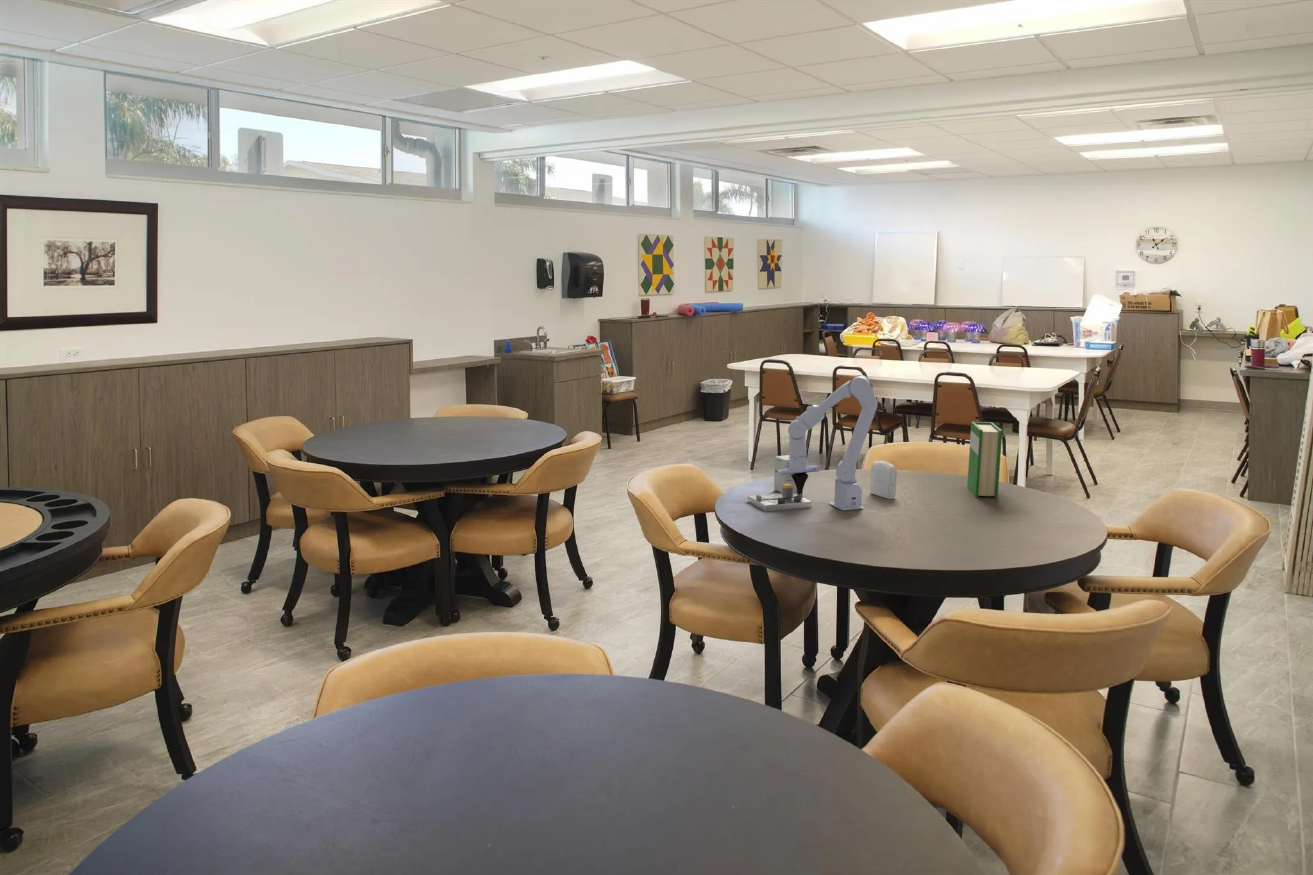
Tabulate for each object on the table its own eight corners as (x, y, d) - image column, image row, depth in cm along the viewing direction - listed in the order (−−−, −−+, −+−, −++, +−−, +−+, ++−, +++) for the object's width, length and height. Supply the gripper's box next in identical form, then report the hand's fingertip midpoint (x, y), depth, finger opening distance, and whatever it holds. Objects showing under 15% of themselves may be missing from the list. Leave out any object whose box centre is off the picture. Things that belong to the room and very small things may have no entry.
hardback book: (997, 498, 325) (1002, 430, 321) (975, 497, 326) (979, 430, 322) (988, 487, 342) (992, 422, 338) (967, 486, 343) (971, 421, 339)
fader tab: (793, 498, 315) (793, 485, 315) (786, 498, 314) (786, 485, 314) (788, 495, 318) (789, 483, 318) (781, 496, 317) (782, 483, 317)
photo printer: (897, 498, 325) (899, 463, 323) (887, 499, 323) (889, 464, 321) (877, 492, 334) (879, 458, 332) (868, 493, 332) (869, 459, 330)
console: (811, 507, 312) (811, 496, 311) (765, 511, 307) (765, 500, 306) (792, 497, 325) (792, 487, 324) (747, 501, 320) (748, 491, 319)
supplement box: (773, 490, 336) (774, 456, 334) (790, 488, 339) (791, 454, 337) (784, 494, 329) (785, 459, 327) (802, 492, 332) (803, 458, 330)
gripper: (811, 451, 321) (812, 489, 323) (773, 455, 317) (774, 494, 319) (821, 454, 314) (822, 493, 317) (782, 459, 310) (783, 499, 313)
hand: (798, 494), depth 318 cm, fingers closed, pressing on console
